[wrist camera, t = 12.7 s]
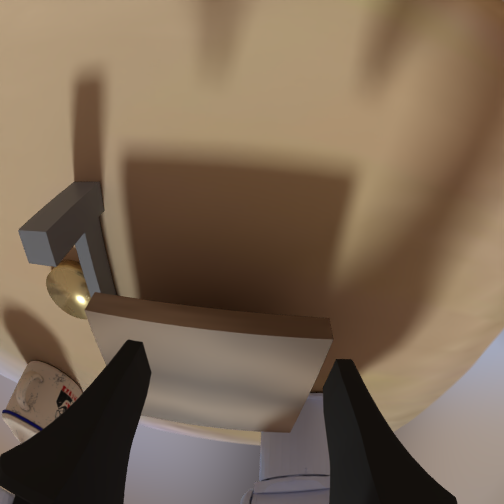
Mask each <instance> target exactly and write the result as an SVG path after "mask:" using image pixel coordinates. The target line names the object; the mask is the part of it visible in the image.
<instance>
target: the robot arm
mask: <svg viewBox="0 0 504 504" xmlns="http://www.w3.org/2000/svg"><path fill="white" fill-rule="evenodd" d="M151 373H152V372H151V369H150V365H149V362H148V359H147V355H146V352H145V348H144V345H143V342H140V341H134V340H129V339H128V340H127V341H126V342H125V343H124V344H123V346H122V347H121V348H120V349H119V351H118V352H117V353H116V355H115V356H114V357H113V358H112V360H111V361H110V362H109V363H108V365H107V366H106V367H105V368H104V370H103V371H102V372H101V373H100V374H99V375H98V377H97V378H96V379H95V380H94V381H93V383H92V384H91V385H90V386H89V387H88V388H87V389H86V390H85V391H84V392H83V393H82V394H81V396H80V397H79V398H78V399H77V400H76V401H75V402H74V403H73V404H72V405H71V406H70V407H69V408H68V409H66V410H65V411H64V412H63V413H62V414H61V415H60V416H59V417H57V418H56V419H55V420H54V421H53V422H51V423H50V424H49V425H48V426H46V427H45V428H44V429H42V430H41V431H40V432H38V433H37V434H35V435H34V436H32V437H31V438H29V439H28V440H26V441H25V442H23V443H22V444H20V445H18V446H16V447H14V448H13V449H11V450H9V451H7V452H5V453H3V454H1V456H0V486H2V487H3V488H5V489H7V490H8V491H10V492H11V493H9V492H7V491H5V490H4V489H2V488H0V504H123V502H124V490H125V481H126V474H127V466H128V461H129V454H130V449H131V445H132V442H133V438H134V435H135V432H136V429H137V425H138V422H139V419H140V416H141V413H142V410H143V407H144V404H145V400H146V397H147V393H148V389H149V384H150V378H151ZM12 493H13V494H12ZM14 494H15V495H14ZM240 504H457V500H456V497H455V496H453V495H452V494H451V493H449V492H448V491H447V490H445V489H444V488H443V487H442V486H441V485H440V484H438V483H437V482H436V481H435V480H434V479H433V478H432V477H431V476H430V475H429V474H428V473H427V472H426V471H425V470H424V469H423V468H422V467H421V466H420V465H419V464H418V463H417V462H416V461H415V459H414V458H413V457H412V456H411V455H410V454H409V452H408V451H407V450H406V449H405V447H404V446H403V445H402V444H401V442H400V441H399V440H398V438H397V437H396V435H395V434H394V433H393V431H392V430H391V428H390V427H389V425H388V424H387V422H386V421H385V419H384V417H383V416H382V414H381V412H380V411H379V409H378V407H377V406H376V404H375V402H374V400H373V399H372V397H371V395H370V393H369V392H368V390H367V388H366V386H365V384H364V382H363V380H362V378H361V376H360V374H359V372H358V370H357V368H356V366H355V364H354V362H353V361H352V360H351V359H336V361H335V363H334V365H333V367H332V369H331V372H330V374H329V376H328V378H327V380H326V382H325V385H324V387H323V393H309V396H308V398H307V400H306V402H305V404H304V406H303V408H302V410H301V412H300V414H299V416H298V418H297V420H296V422H295V424H294V426H293V428H292V430H291V432H290V433H281V432H261V451H260V475H259V482H254V489H249V490H248V491H247V492H246V493H245V494H244V495H243V496H242V498H241V501H240Z"/></svg>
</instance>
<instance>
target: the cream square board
mask: <svg viewBox="0 0 504 504" xmlns="http://www.w3.org/2000/svg"><path fill="white" fill-rule="evenodd" d="M84 311H85V313H86V316H87V319H88V322H89V324H90V327H91V329H92V332H93V335H94V337H95V340H96V342H97V345H98V347H99V349H100V352H101V354H102V356H103V359H104V361H105V363H106V366H107V365H108V363H109V362H110V361H111V360H112V358H113V357H114V356H115V355H116V353H117V352H118V351H119V349H120V348H121V347H122V346H123V344H124V343H125V342H126V341H127V340H128V339H129V340H134V341H140V342H143V345H144V348H145V352H146V355H147V359H148V362H149V365H150V369H151V372H152V373H151V378H150V384H149V389H148V393H147V397H146V400H145V404H144V407H143V410H142V413H141V415H143V416H147V417H152V418H157V419H163V420H168V421H174V422H179V423H186V424H192V425H199V426H207V427H215V428H224V429H234V430H245V431H259V432H281V433H290V432H291V430H292V428H293V426H294V424H295V422H296V420H297V418H298V416H299V414H300V412H301V410H302V408H303V406H304V404H305V402H306V400H307V398H308V396H309V393H310V391H311V389H312V387H313V385H314V383H315V380H316V378H317V376H318V374H319V372H320V369H321V367H322V365H323V362H324V360H325V358H326V356H327V353H328V351H329V348H330V346H331V344H332V341H333V335H332V330H331V324H330V319H329V318H317V317H302V316H288V315H276V314H264V313H253V312H242V311H232V310H223V309H214V308H205V307H196V306H188V305H180V304H172V303H165V302H157V301H150V300H143V299H136V298H130V297H123V296H117V295H110V294H104V293H98V292H95V293H94V294H93V296H92V298H91V299H90V301H89V303H88V305H87V306H86V308H85V310H84Z"/></svg>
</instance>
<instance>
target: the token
mask: <svg viewBox="0 0 504 504" xmlns="http://www.w3.org/2000/svg"><path fill="white" fill-rule="evenodd" d="M46 286H47V290H48V292H49V295H50V296H51V298H52V299H53V301H54V302H55V303H56V304H57V305H58V306H59V307H60V308H61V309H62V310H63V311H65V312H66V313H68V314H70V315H72V316H74V317H76V318H80V319H87V316H86V313H85V311H84V310H85V308H86V306H87V305H88V303H89V301H90V299H91V296H90V293H89V290H88V287H87V284H86V281H85V278H84V274H83V271H82V268H81V264H80V263H79V262H76V261H72V260H64V261H61V262H60V263H59V264H58V266H57V267H54V268H53V270H52V271H51V272H50V273H49V275H48V276H47V279H46Z"/></svg>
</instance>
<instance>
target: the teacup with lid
mask: <svg viewBox="0 0 504 504" xmlns="http://www.w3.org/2000/svg"><path fill="white" fill-rule="evenodd" d="M81 394H82V391H81V389H80V388H79V386H78V385H77V384H76V383H75V382H74V381H73V380H72V379H71V378H69V377H68V376H67V375H66V374H64V373H63V372H61V371H60V370H58V369H56V368H55V367H53V366H51V365H49V364H46V363H44V362H40V361H31V362H29V363H28V365H27V367H26V369H25V371H24V372H23V374H22V376H21V378H20V380H19V382H18V384H17V386H16V388H15V390H14V392H13V394H12V396H11V399H10V401H9V403H8V405H7V407H6V409H5V410H3V412H2V413H3V414H2V418H3V420H4V422H5V423H6V424H7V425H8V426H9V427H10V429H11V430H12V432H13V434H14V436H15V437H16V438H17V439H18V440H19V441H20V442H21V443H20V444H22V443H23V442H25V441H26V440H28V439H29V438H31V437H32V436H34V435H35V434H37V433H38V432H40V431H41V430H42V429H44V428H45V427H46V426H48V425H49V424H50V423H51V422H53V421H54V420H55V419H56V418H57V417H59V416H60V415H61V414H62V413H63V412H64V411H65V410H66V409H68V408H69V407H70V406H71V405H72V404H73V403H74V402H75V401H76V400H77V399H78V398H79V397H80V396H81Z"/></svg>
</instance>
